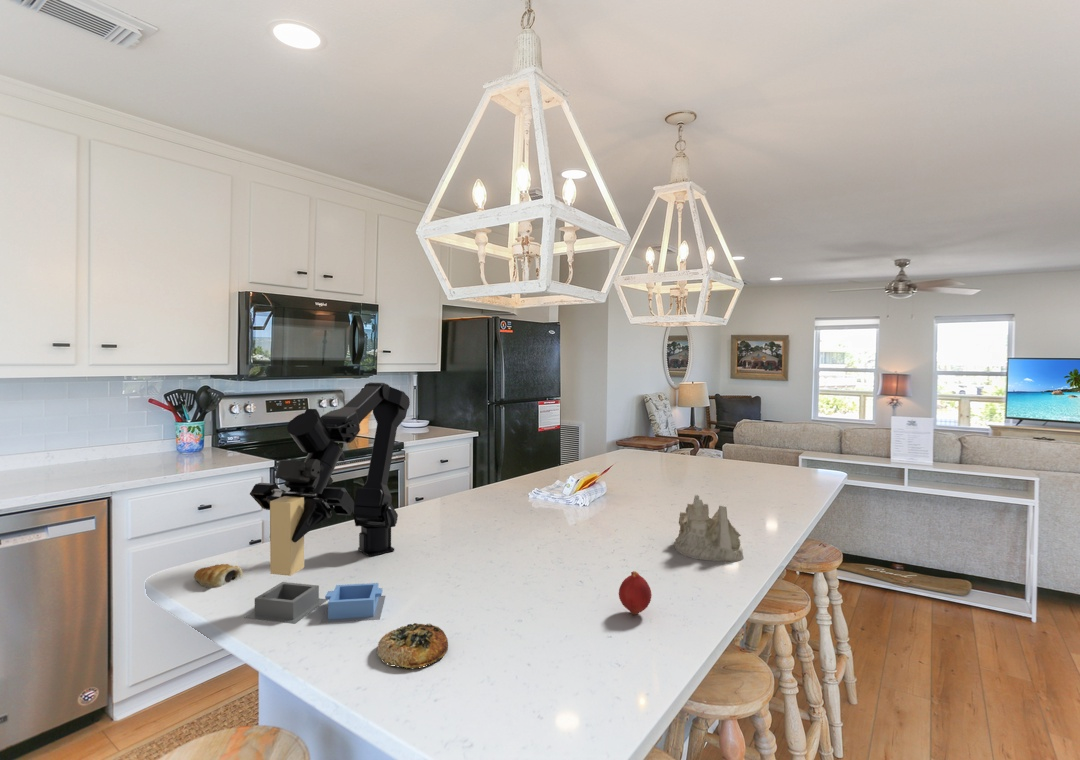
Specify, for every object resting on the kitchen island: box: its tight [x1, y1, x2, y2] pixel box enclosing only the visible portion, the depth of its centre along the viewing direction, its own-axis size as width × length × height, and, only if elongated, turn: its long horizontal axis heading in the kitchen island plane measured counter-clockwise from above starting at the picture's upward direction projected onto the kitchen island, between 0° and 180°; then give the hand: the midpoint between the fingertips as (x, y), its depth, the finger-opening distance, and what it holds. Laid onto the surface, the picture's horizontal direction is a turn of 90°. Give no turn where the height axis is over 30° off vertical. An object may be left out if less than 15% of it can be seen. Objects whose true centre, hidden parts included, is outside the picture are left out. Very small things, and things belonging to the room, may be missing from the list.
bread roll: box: [377, 622, 449, 669], centre depth 88 cm, size 11×11×5 cm
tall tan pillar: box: [269, 496, 305, 577], centre depth 101 cm, size 4×4×13 cm
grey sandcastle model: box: [673, 493, 745, 563], centre depth 139 cm, size 16×16×15 cm
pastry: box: [193, 563, 244, 589], centre depth 115 cm, size 9×7×4 cm
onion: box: [618, 570, 653, 616], centre depth 102 cm, size 6×6×8 cm
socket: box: [243, 581, 328, 624], centre depth 102 cm, size 10×10×4 cm
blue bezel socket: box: [319, 582, 386, 624], centre depth 102 cm, size 10×10×4 cm
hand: (282, 540), depth 100 cm, fingers closed on tall tan pillar, 4 cm apart
